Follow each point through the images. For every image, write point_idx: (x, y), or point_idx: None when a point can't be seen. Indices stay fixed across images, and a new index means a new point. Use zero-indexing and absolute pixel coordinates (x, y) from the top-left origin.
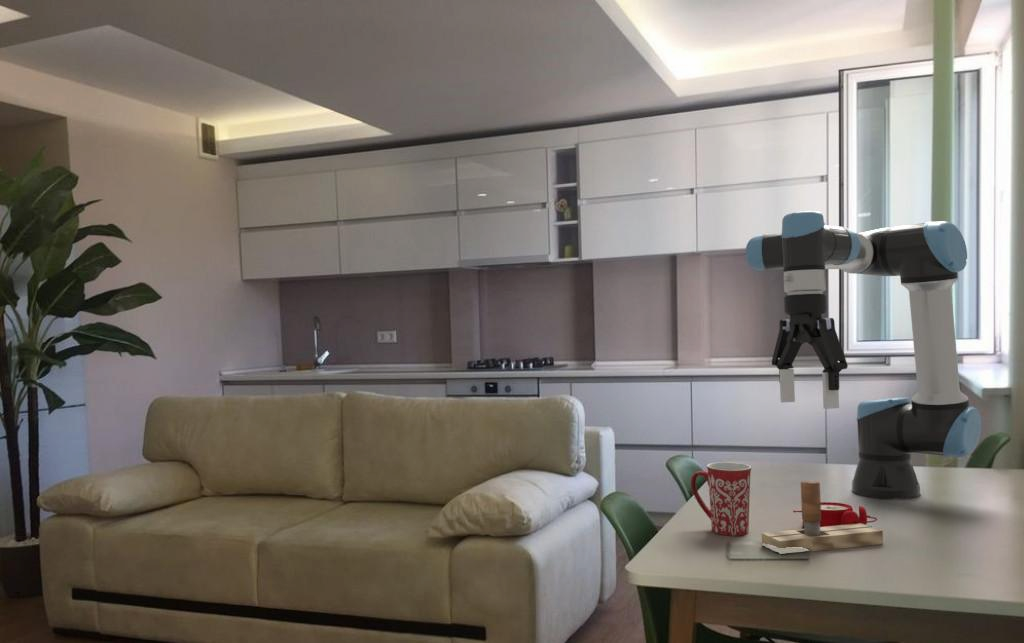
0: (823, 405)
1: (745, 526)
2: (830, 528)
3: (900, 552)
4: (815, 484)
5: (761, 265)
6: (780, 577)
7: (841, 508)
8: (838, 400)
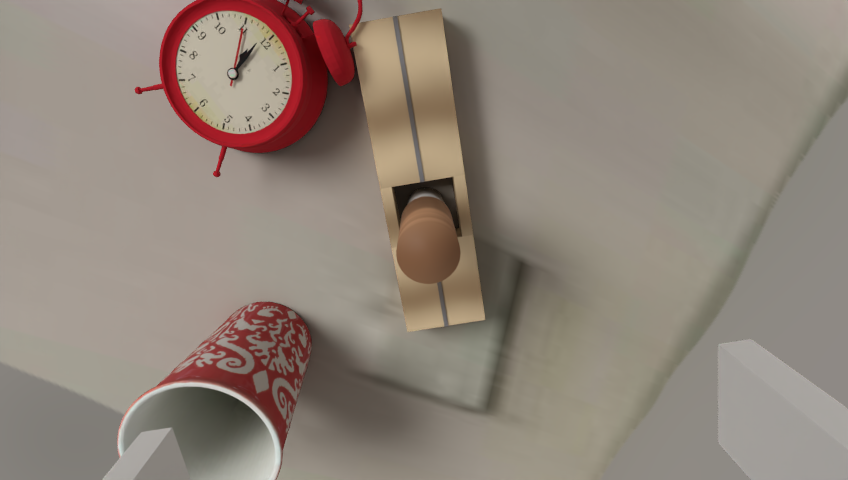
0: (732, 457)
1: (299, 326)
2: (394, 146)
3: (521, 14)
4: (459, 248)
5: None
6: (622, 361)
7: (243, 34)
8: (796, 374)
